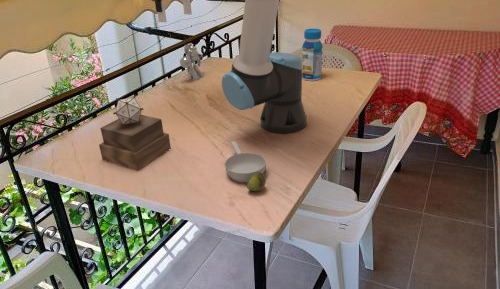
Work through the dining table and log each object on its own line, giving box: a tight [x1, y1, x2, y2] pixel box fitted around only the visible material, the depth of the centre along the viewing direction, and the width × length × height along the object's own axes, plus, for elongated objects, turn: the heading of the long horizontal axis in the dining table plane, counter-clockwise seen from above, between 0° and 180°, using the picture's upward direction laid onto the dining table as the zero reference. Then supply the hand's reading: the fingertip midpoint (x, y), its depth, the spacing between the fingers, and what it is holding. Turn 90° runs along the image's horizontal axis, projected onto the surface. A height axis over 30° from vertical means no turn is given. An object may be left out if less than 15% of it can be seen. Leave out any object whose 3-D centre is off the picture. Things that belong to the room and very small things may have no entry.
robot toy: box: [179, 42, 204, 81], centre depth 181 cm, size 15×6×15 cm, turn 158°
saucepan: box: [224, 140, 267, 183], centre depth 115 cm, size 11×18×4 cm, turn 17°
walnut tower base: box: [98, 114, 172, 171], centre depth 123 cm, size 14×14×10 cm
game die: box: [112, 94, 144, 127], centre depth 118 cm, size 9×8×10 cm
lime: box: [246, 172, 266, 192], centre depth 104 cm, size 4×5×5 cm
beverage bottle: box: [301, 28, 324, 82], centre depth 174 cm, size 8×8×20 cm
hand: (175, 18), depth 143 cm, fingers open, 13 cm apart
